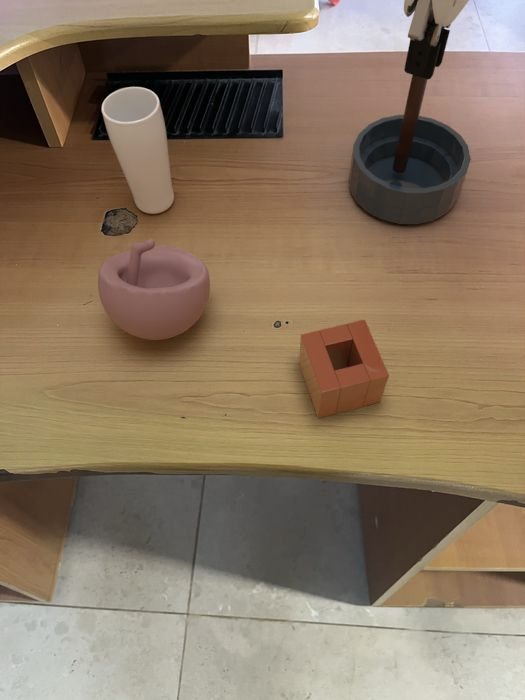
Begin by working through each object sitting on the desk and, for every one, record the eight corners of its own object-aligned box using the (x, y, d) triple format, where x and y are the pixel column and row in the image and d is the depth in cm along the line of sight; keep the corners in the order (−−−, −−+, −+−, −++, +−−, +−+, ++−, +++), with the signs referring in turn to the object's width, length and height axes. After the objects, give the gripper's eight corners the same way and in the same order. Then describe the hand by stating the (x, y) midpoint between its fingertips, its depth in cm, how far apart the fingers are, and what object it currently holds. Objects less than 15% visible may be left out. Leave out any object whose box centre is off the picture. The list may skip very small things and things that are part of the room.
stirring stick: (403, 163, 77) (437, 12, 60) (408, 172, 76) (444, 21, 59) (390, 165, 77) (421, 14, 60) (395, 174, 76) (428, 24, 59)
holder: (358, 348, 65) (364, 318, 59) (380, 402, 61) (389, 375, 56) (298, 363, 64) (300, 334, 59) (318, 418, 60) (321, 392, 55)
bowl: (431, 142, 82) (441, 105, 77) (476, 214, 75) (490, 178, 69) (334, 162, 80) (338, 126, 75) (370, 237, 73) (377, 203, 68)
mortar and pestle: (225, 283, 70) (216, 217, 60) (200, 367, 64) (185, 308, 54) (132, 269, 71) (108, 202, 62) (99, 350, 65) (67, 290, 56)
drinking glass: (189, 205, 77) (170, 108, 64) (145, 227, 75) (117, 131, 62) (164, 177, 80) (142, 78, 67) (121, 197, 78) (90, 100, 65)
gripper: (479, -87, 44) (427, 119, 60) (540, -161, 51) (478, 41, 66) (389, -106, 46) (361, 97, 62) (459, -175, 53) (418, 25, 69)
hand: (422, 67), depth 64 cm, fingers closed on stirring stick, 1 cm apart
